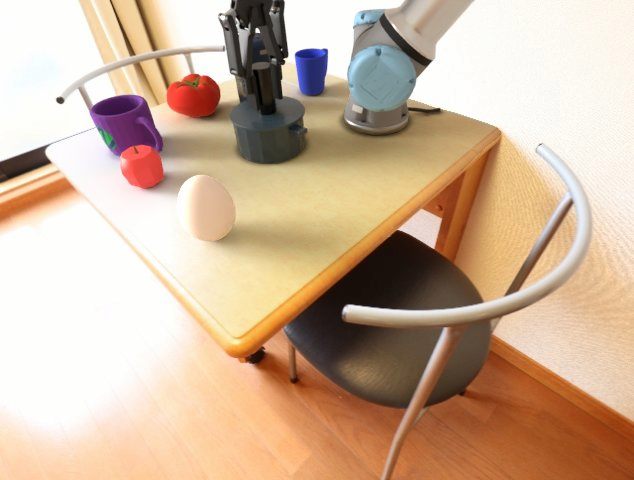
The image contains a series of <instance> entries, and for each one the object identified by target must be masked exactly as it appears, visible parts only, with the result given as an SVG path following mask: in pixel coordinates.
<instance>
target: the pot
mask: <svg viewBox="0 0 634 480" xmlns="http://www.w3.org/2000/svg"><path fill="white" fill-rule="evenodd" d="M235 106H236V105H234V106H232V109H233V108H234V107H235ZM232 126H233V131H234V135H235V140H236V145H237V150H238V152H239V154H240V156H241V157H242V158H243V159H245V160H246V161H249V162H251V163H256V164H262V165H271V164H272V165H273V164H279V163H283V162H287V161H289V160H292V159H294V158H296V157H297V156H299V155H300V154H301V153H302V152H303V151H304V149H305V146H306V140H305V139H306V138H305V135H307V134H308V127H306V126H304V117H303V118H302V119H301V120H300V121H299V122H297V123H296V124H294V125H292V126H289V127H287V128H284V129H280V130H275V131H268V132H254V131H247V130H243V129H240V128H238V127H236V126H235V125H233V124H232Z"/></svg>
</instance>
